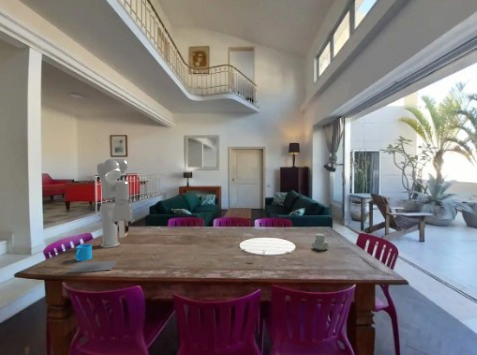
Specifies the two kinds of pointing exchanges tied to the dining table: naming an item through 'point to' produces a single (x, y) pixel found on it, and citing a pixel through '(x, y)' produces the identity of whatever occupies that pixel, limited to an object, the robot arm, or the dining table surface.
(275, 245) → the lazy susan
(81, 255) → the mug
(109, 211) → the robot arm
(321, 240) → the air freshener
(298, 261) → the dining table surface
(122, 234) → the white rectangular block
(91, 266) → the mat
